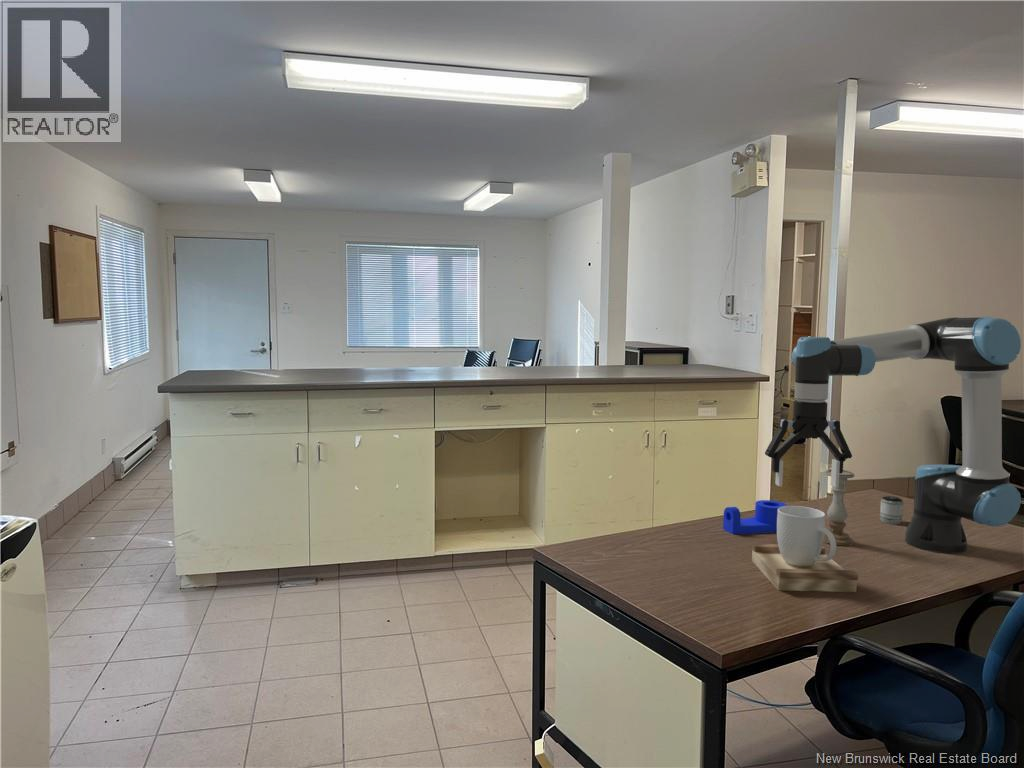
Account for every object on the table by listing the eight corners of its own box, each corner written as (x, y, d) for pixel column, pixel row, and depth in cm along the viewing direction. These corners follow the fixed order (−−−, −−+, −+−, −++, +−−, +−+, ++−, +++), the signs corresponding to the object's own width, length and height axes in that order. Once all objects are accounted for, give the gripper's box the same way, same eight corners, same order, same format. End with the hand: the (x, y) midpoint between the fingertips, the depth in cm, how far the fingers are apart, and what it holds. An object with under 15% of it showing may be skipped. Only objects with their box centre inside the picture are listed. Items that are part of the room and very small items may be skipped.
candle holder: (855, 547, 194) (859, 476, 192) (820, 543, 197) (824, 473, 195) (850, 538, 203) (854, 470, 201) (818, 534, 205) (821, 467, 204)
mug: (846, 570, 168) (849, 517, 167) (819, 578, 162) (822, 524, 161) (792, 552, 180) (795, 503, 179) (765, 559, 174) (768, 509, 173)
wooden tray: (820, 561, 182) (821, 545, 182) (857, 592, 162) (858, 574, 161) (751, 560, 183) (752, 543, 182) (779, 590, 162) (779, 572, 162)
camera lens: (875, 519, 223) (876, 495, 222) (893, 518, 223) (895, 495, 222) (887, 525, 216) (889, 500, 216) (906, 524, 217) (908, 500, 216)
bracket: (772, 523, 218) (773, 499, 217) (792, 531, 209) (793, 506, 208) (718, 527, 212) (719, 503, 211) (736, 536, 203) (737, 511, 203)
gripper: (855, 399, 172) (850, 482, 174) (754, 397, 173) (750, 481, 175) (870, 402, 164) (865, 490, 166) (764, 401, 165) (760, 488, 167)
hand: (806, 485), depth 170 cm, fingers open, 13 cm apart
